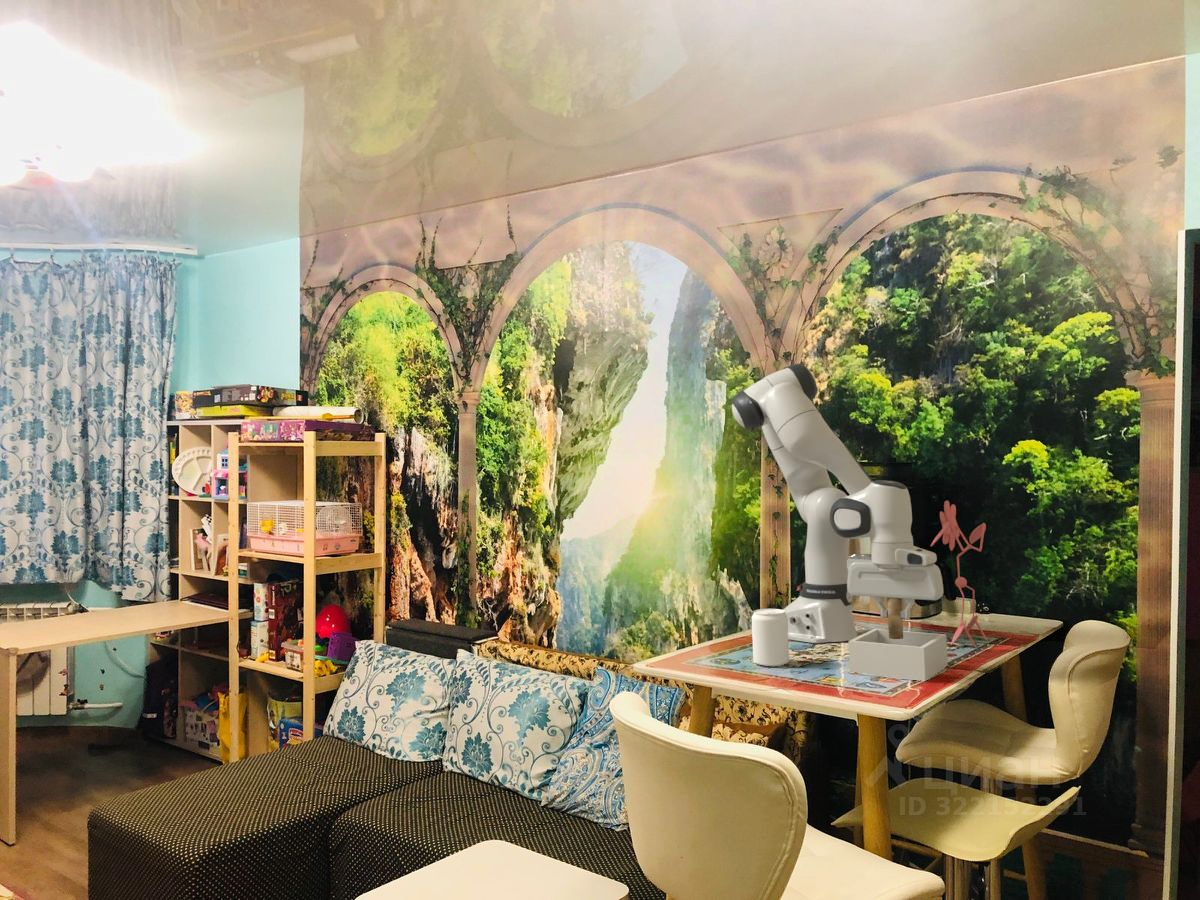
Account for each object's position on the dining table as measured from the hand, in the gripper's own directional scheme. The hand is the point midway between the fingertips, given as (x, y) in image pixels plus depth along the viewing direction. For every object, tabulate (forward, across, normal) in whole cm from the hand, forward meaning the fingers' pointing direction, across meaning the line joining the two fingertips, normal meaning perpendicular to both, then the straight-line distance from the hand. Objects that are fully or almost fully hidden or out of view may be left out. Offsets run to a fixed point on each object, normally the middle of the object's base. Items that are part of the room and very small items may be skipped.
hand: (895, 618), depth 197 cm
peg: (+4, 0, 0) cm, 4 cm away
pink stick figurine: (+12, +1, +36) cm, 38 cm away
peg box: (+11, 0, 0) cm, 11 cm away
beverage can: (+11, -27, -7) cm, 30 cm away
